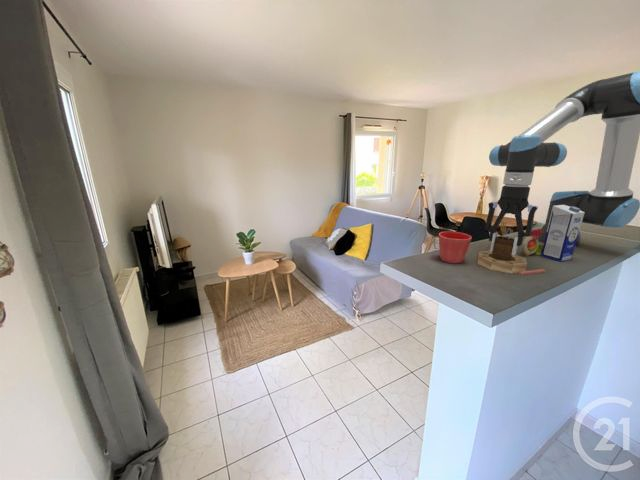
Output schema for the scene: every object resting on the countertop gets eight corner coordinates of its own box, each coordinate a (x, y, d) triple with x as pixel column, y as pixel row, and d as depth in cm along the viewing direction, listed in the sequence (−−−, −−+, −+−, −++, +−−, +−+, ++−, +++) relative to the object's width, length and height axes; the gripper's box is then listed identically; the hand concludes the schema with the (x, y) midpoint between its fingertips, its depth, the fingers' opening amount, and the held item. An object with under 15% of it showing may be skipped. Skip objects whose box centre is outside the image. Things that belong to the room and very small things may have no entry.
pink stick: (542, 271, 89) (543, 269, 89) (545, 272, 89) (545, 270, 88) (518, 274, 87) (519, 271, 87) (521, 275, 86) (521, 272, 86)
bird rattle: (534, 263, 102) (550, 251, 104) (532, 239, 98) (549, 227, 100) (517, 258, 108) (533, 247, 109) (515, 234, 103) (531, 224, 105)
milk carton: (551, 253, 106) (563, 204, 100) (571, 259, 100) (586, 206, 94) (540, 256, 103) (552, 205, 98) (560, 261, 97) (575, 208, 92)
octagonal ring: (499, 256, 103) (500, 249, 102) (534, 270, 90) (536, 262, 89) (468, 259, 100) (470, 252, 99) (501, 274, 87) (502, 266, 86)
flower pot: (467, 266, 93) (471, 240, 91) (434, 261, 99) (437, 236, 96) (468, 257, 102) (472, 233, 100) (437, 253, 107) (440, 230, 105)
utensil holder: (496, 259, 92) (502, 225, 88) (488, 253, 98) (494, 221, 94) (514, 260, 91) (522, 226, 87) (506, 254, 97) (512, 222, 93)
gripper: (480, 184, 91) (470, 248, 98) (551, 188, 78) (533, 261, 85) (487, 183, 96) (477, 244, 103) (555, 186, 83) (538, 256, 89)
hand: (502, 252), depth 94 cm, fingers closed on utensil holder, 6 cm apart
